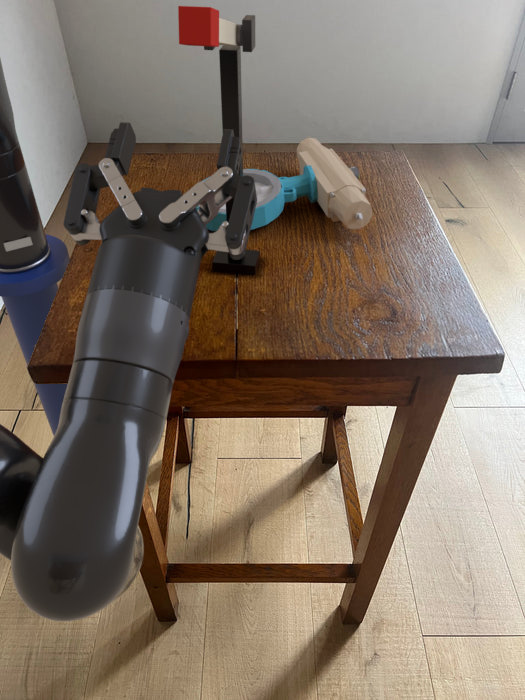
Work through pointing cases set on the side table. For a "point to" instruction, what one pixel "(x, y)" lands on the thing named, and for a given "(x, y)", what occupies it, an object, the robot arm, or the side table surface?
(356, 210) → the butterfly valve
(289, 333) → the side table surface
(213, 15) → the lever
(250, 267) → the lever post
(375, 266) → the side table surface
